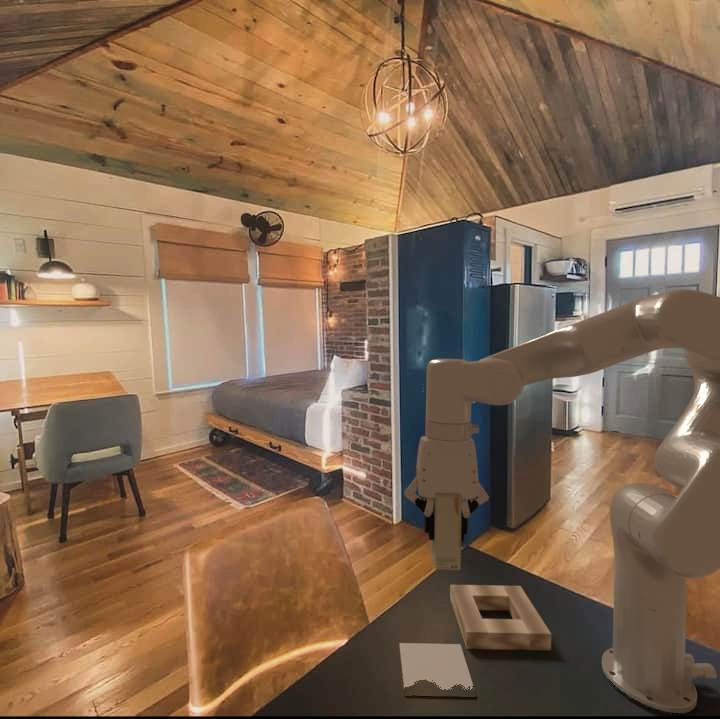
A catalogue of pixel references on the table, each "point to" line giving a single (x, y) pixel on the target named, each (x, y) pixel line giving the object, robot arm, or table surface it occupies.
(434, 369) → the robot arm
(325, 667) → the table surface
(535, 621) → the holder
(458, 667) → the mat
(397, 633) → the table surface
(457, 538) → the skincare box
